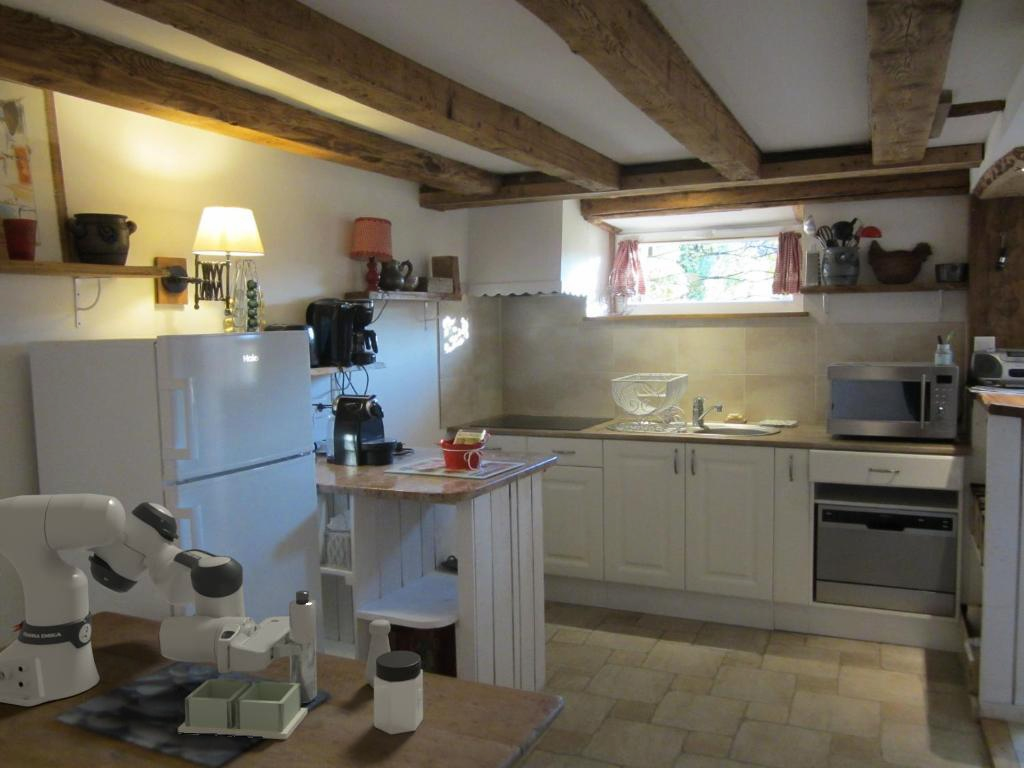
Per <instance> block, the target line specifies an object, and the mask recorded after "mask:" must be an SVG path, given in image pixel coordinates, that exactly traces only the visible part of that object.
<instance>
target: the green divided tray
mask: <svg viewBox="0 0 1024 768" xmlns="http://www.w3.org/2000/svg"><path fill="white" fill-rule="evenodd" d="M301 705H302V704H301V686H300V683H290V682H286V681H285V682H284V681H279V682H278V681H265V680H264V681H260V680H256V681H255V682H253V680H244V679H243V680H242V679H241V680H239V679H222V678H221V679H220V678H208V679H206V680H205V681H204V682H203V683H201V685H199V686H197V688H196V689H194V690H193V691H192V692H191V693H190V694H188V695H187V696H186V697H185V698H184V717H185V718H184V721H183V723H181V724H180V725H179V726H178V727H177V733H178V732H184V733H217V734H229V735H230V734H236V735H250V736H251V735H252V736H262V737H263V738H262V739H271V740H272V739H277V740H287V739H289V737H291V735H292V733H294V731H295V730H296V729H297V727H298V726H299V724H301V722H302V721H303V720H304V718H305V717H306V715H308V707H301Z"/></svg>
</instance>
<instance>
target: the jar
mask: <svg viewBox="0 0 1024 768" xmlns="http://www.w3.org/2000/svg"><path fill="white" fill-rule="evenodd" d="M423 671H424V670H423V669H422V658H421V655H419V654H418V653H416V652H414V651H409V650H393V651H390V652H387V653H384V654H382V655H380V656H379V657H378V658H377V659H376V675H375V676H374V688H373V719H374V720H373V726H374V727H375V728H377V729H378V730H380V731H383V732H385V733H387V734H389V735H396V734H403V733H409V732H414V731H416V730H417V728H419V726H420V724H422V721H423V719H424V686H423V685H424V681H423V680H424V679H423V678H424V675H423V674H424V672H423Z"/></svg>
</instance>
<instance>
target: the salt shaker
mask: <svg viewBox="0 0 1024 768" xmlns="http://www.w3.org/2000/svg"><path fill="white" fill-rule="evenodd" d="M368 631H369V634H370V635H371V638H370V645H369V649H368V655H367V662H366V667H365V672H364V673H365V679H366V680H367V681H368V684H369V685H370V687H371V688H372V689H374V676H375V675H376V659H377V658H378V657H379V656H380V655H382V654H384V653H387V652H391V647H390V640H389V635H388V634H390V632H391V624H390V621H388V620H386V619H374V620H372V621H371V622H370V623H369V626H368Z"/></svg>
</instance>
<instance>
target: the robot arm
mask: <svg viewBox="0 0 1024 768" xmlns="http://www.w3.org/2000/svg"><path fill="white" fill-rule="evenodd" d="M177 530H178V525H177V522H176V519H175V517H174V516H173V514H172V513H171V512H170V510H169V509H168V508H166V507H164V506H163V505H161V504H159V503H153V502H148V501H147V502H146V501H144V502H141V503H139V504H138V505H137V506H136V507H134V509H133V510H132V511H131V514H130V515H129V516H128V517H126V511H125V508H124V506H123V504H122V502H121V501H120V500H119V499H118V498H117V497H115V496H111V495H106V494H105V495H104V494H98V493H88V492H87V493H85V492H84V493H59V494H58V493H57V494H55V493H54V494H53V493H52V494H25V495H24V494H21V495H16V496H11V497H7V498H2V499H0V553H1V555H3V556H4V557H5V558H7V560H8V561H9V562H10V564H12V566H13V567H14V569H15V571H16V572H17V574H18V576H19V578H20V580H21V584H22V587H23V588H22V590H23V597H24V609H25V619H24V620H22V621H21V622H20V623H18V624H16V625H15V626H12V629H14V630H13V631H12V633H16V632H18V631H19V630H20V631H19V634H18V635H17V639H16V640H14V641H13V642H11V644H9V645H8V646H6V648H5V649H3V650H2V651H1V652H0V703H5V704H11V705H14V706H15V705H17V706H21V707H33V706H36V705H40V704H43V703H46V702H50V701H55V700H56V701H57V700H60V699H64V698H65V699H66V698H68V697H72V696H76V695H78V694H82V693H83V692H85V691H88V690H90V689H91V688H93V687H94V686H96V685H97V684H98V683H99V681H100V675H99V673H98V669H97V667H96V664H95V660H94V658H95V657H94V653H93V649H92V632H93V630H92V628H93V627H92V626H93V625H92V624H93V623H92V622H93V621H92V613H91V611H90V610H89V609H90V607H89V603H90V602H89V580H88V577H87V575H86V574H85V572H84V571H83V570H81V569H80V568H79V567H77V566H75V565H73V564H70V563H68V562H66V561H65V560H64V559H62V557H61V556H60V554H59V552H58V551H60V550H61V551H62V550H63V551H67V552H82V553H85V552H86V553H87V552H92V553H93V555H89V556H88V558H87V559H88V561H89V562H90V566H89V567H90V572H91V573H90V574H91V576H92V579H94V580H95V581H96V583H97V584H98V585H99V586H100V587H101V588H102V589H105V590H107V591H109V592H113V593H121V594H124V593H128V592H129V591H130V590H132V588H134V587H135V586H136V585H137V584H138V583H139V582H138V580H139V579H140V578H141V577H142V576H143V575H144V574H145V572H147V570H148V575H149V580H150V582H151V585H152V586H153V588H154V590H156V592H157V593H158V595H160V597H161V598H162V599H163V600H164V601H166V602H167V603H168V604H170V605H172V606H175V607H181V608H182V607H188V606H191V605H194V614H192V615H180V616H169V617H166V618H165V619H163V620H162V622H161V624H160V627H159V630H158V636H157V641H158V648H159V652H160V654H161V655H162V656H163V658H166V659H169V660H173V661H177V662H178V661H179V662H187V663H205V662H214V663H217V671H218V673H219V674H229V673H231V672H234V673H235V672H236V673H256V672H261V671H263V670H265V669H267V667H268V666H269V665H271V663H273V662H274V660H276V659H277V658H278V659H279V658H284V657H290V655H299V654H300V653H301V652H302V651H303V649H302V647H303V646H302V644H301V643H299V644H297V643H293V644H292V645H290V631H289V615H288V616H282V615H281V616H270V617H267V618H264V619H262V621H261V622H259V623H256V622H255V620H254V619H253V618H252V617H250V616H249V617H247V616H246V612H245V599H244V588H243V587H244V586H243V581H244V578H243V577H244V576H243V575H244V573H243V572H244V568H243V566H242V564H241V563H240V562H238V561H237V560H236V559H234V558H233V557H230V556H225V555H217V554H214V553H212V552H208V551H206V550H204V549H203V550H202V549H198V548H191V549H186V550H183V549H180V548H179V547H177V546H176V545H174V542H175V539H176V540H178V539H179V538H180V536H179V535H178V533H177Z"/></svg>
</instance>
